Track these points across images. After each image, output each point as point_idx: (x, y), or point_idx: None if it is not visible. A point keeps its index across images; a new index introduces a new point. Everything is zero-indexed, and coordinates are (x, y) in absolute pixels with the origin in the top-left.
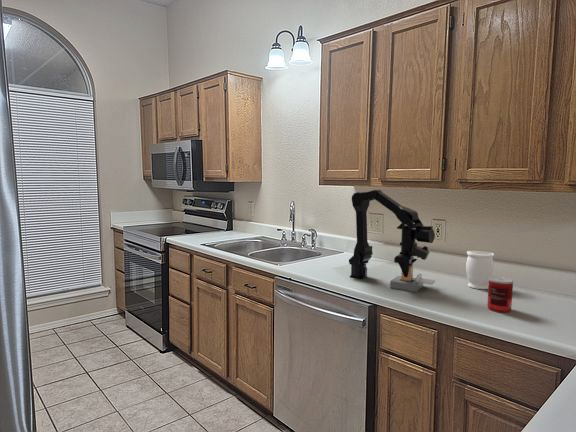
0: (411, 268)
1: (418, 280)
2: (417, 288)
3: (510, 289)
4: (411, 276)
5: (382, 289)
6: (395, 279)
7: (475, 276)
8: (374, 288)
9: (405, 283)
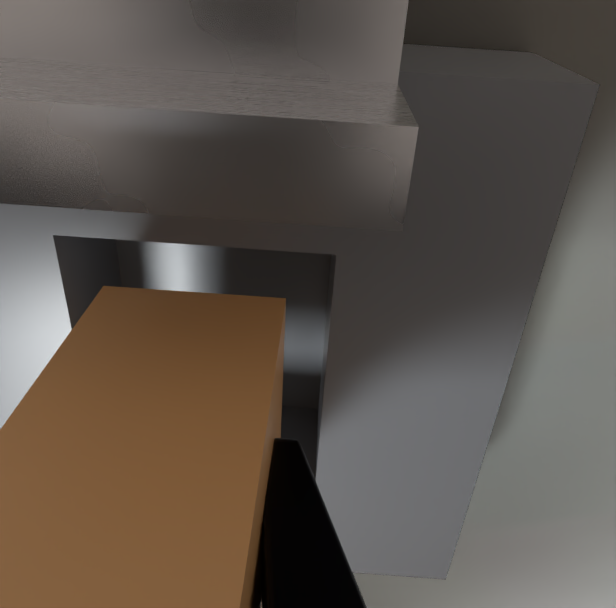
0: None
1: (401, 93)
2: (463, 57)
3: None
4: (201, 362)
5: (541, 533)
6: None
7: None
8: (525, 598)
9: (512, 359)
